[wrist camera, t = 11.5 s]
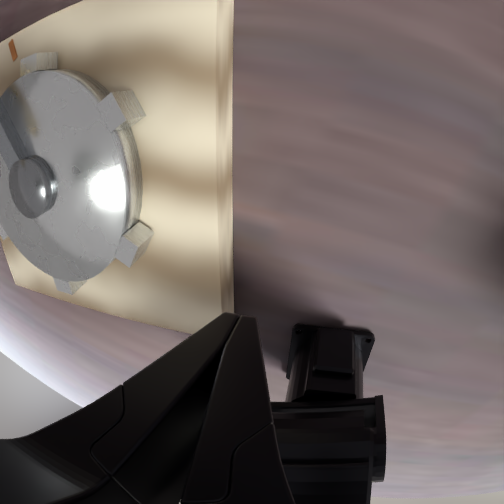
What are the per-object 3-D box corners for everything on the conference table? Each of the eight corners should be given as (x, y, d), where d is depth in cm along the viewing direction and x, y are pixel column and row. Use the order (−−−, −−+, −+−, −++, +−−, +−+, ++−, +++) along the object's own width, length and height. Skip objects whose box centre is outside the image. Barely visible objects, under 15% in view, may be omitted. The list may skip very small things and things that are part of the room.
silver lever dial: (206, 132, 15) (130, 164, 10) (119, 313, 24) (70, 374, 18) (13, 32, 14) (-60, 39, 8) (-18, 194, 22) (-70, 224, 16)
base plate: (234, 315, 25) (222, 341, 22) (32, 270, 30) (15, 285, 27) (234, -19, 14) (217, -36, 11) (-2, 56, 18) (-26, 59, 15)
